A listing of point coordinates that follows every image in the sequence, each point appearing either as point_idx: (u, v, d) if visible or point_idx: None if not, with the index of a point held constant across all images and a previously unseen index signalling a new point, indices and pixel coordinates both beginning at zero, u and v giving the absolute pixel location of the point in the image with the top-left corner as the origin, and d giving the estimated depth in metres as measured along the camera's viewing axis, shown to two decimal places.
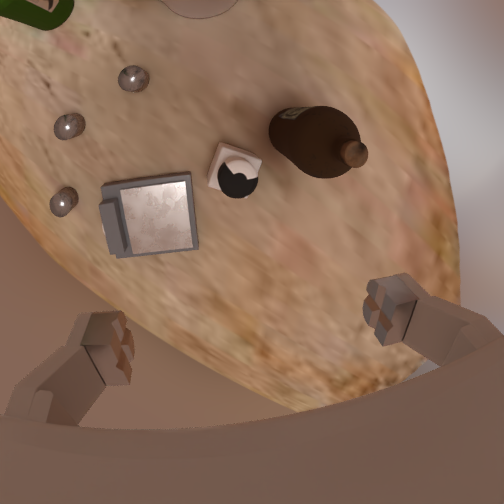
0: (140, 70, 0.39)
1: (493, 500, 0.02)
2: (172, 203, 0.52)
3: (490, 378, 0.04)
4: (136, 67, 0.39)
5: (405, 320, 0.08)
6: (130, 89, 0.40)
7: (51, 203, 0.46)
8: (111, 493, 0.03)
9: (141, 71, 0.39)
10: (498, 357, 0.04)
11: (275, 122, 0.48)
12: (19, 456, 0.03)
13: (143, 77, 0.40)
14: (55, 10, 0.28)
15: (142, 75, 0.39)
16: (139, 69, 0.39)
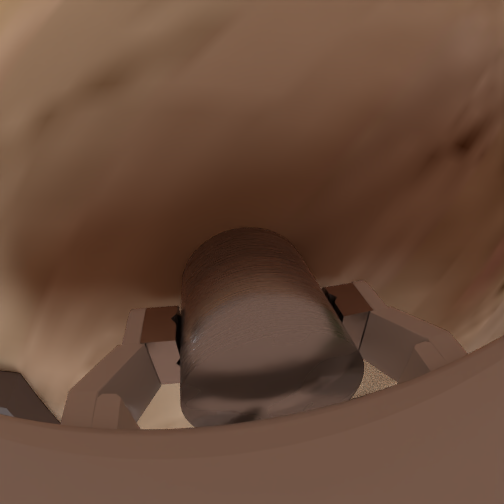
0: None
1: (493, 500, 0.02)
2: None
3: (490, 378, 0.04)
4: None
5: (358, 332, 0.08)
6: None
7: None
8: (111, 493, 0.03)
9: None
10: (498, 357, 0.04)
11: None
12: (19, 456, 0.03)
13: None
14: None
15: None
16: None
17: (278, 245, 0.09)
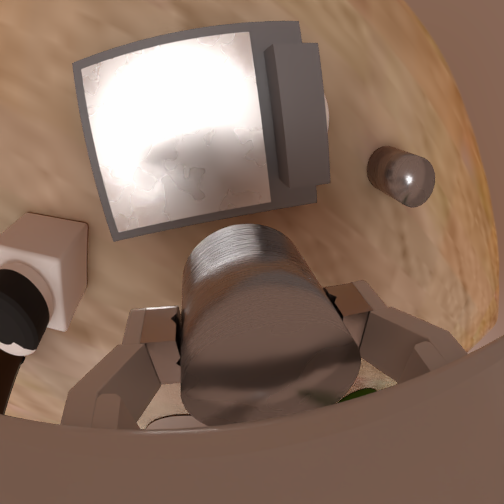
0: None
1: (493, 500, 0.02)
2: (138, 178, 0.20)
3: (490, 378, 0.04)
4: None
5: (358, 332, 0.08)
6: None
7: (429, 189, 0.23)
8: (111, 493, 0.03)
9: None
10: (498, 357, 0.04)
11: None
12: (19, 456, 0.03)
13: None
14: None
15: None
16: None
17: (277, 241, 0.09)
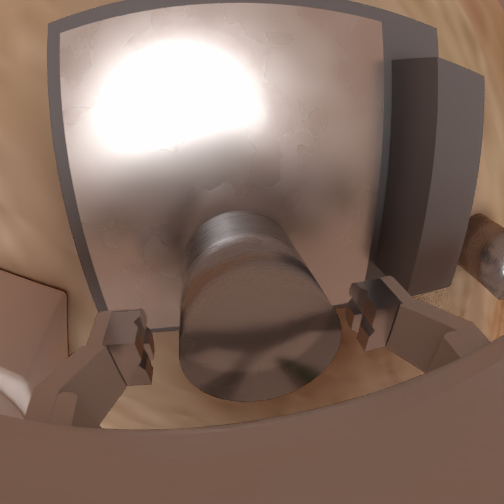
0: None
1: (493, 500, 0.02)
2: (153, 254, 0.11)
3: (490, 378, 0.04)
4: None
5: (388, 325, 0.08)
6: None
7: None
8: (111, 493, 0.03)
9: None
10: (498, 357, 0.04)
11: None
12: (19, 456, 0.03)
13: None
14: None
15: None
16: None
17: (267, 225, 0.10)
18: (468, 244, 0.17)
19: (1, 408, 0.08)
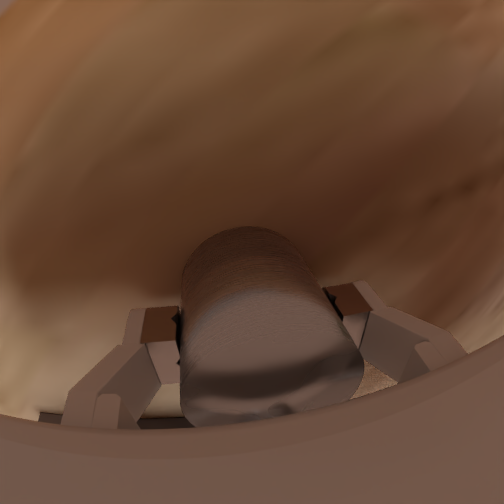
0: None
1: (493, 500, 0.02)
2: None
3: (490, 378, 0.04)
4: None
5: (358, 332, 0.08)
6: None
7: (315, 349, 0.06)
8: (111, 493, 0.03)
9: None
10: (498, 357, 0.04)
11: None
12: (19, 456, 0.03)
13: None
14: None
15: None
16: None
17: None
18: None
19: None
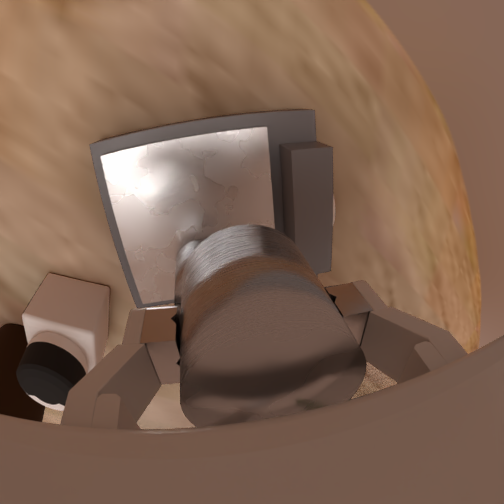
0: None
1: (493, 500, 0.02)
2: (161, 262, 0.23)
3: (490, 378, 0.04)
4: None
5: (358, 332, 0.08)
6: None
7: (317, 346, 0.06)
8: (111, 493, 0.03)
9: None
10: (498, 357, 0.04)
11: None
12: (19, 456, 0.03)
13: None
14: None
15: None
16: None
17: None
18: None
19: (77, 352, 0.20)
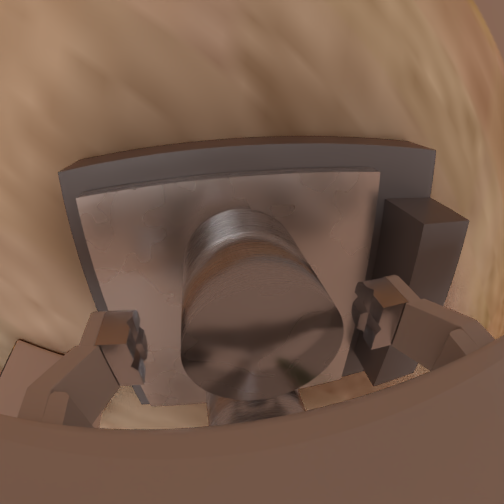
0: None
1: (493, 500, 0.02)
2: (181, 365, 0.14)
3: (490, 378, 0.04)
4: None
5: (394, 323, 0.08)
6: None
7: (296, 303, 0.07)
8: (111, 493, 0.03)
9: None
10: (498, 357, 0.04)
11: None
12: (19, 456, 0.03)
13: None
14: None
15: None
16: None
17: None
18: None
19: None
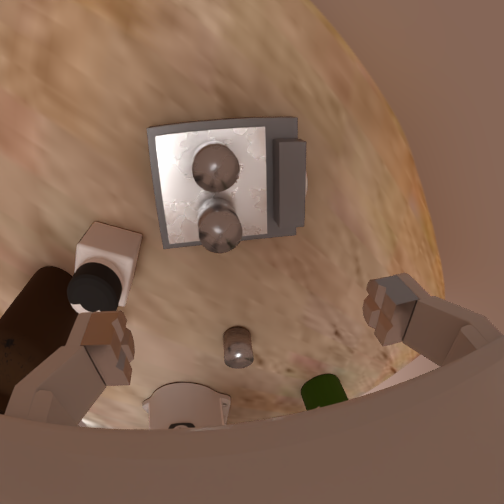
0: (242, 353, 0.43)
1: (493, 500, 0.02)
2: (187, 212, 0.34)
3: (490, 378, 0.04)
4: (235, 353, 0.43)
5: (405, 320, 0.08)
6: (246, 365, 0.45)
7: (222, 151, 0.27)
8: (111, 493, 0.03)
9: (243, 353, 0.43)
10: (498, 357, 0.04)
11: (76, 316, 0.37)
12: (19, 456, 0.03)
13: (250, 354, 0.44)
14: (316, 404, 0.53)
15: (247, 354, 0.44)
16: (240, 352, 0.43)
17: (228, 203, 0.33)
18: None
19: (118, 272, 0.31)
